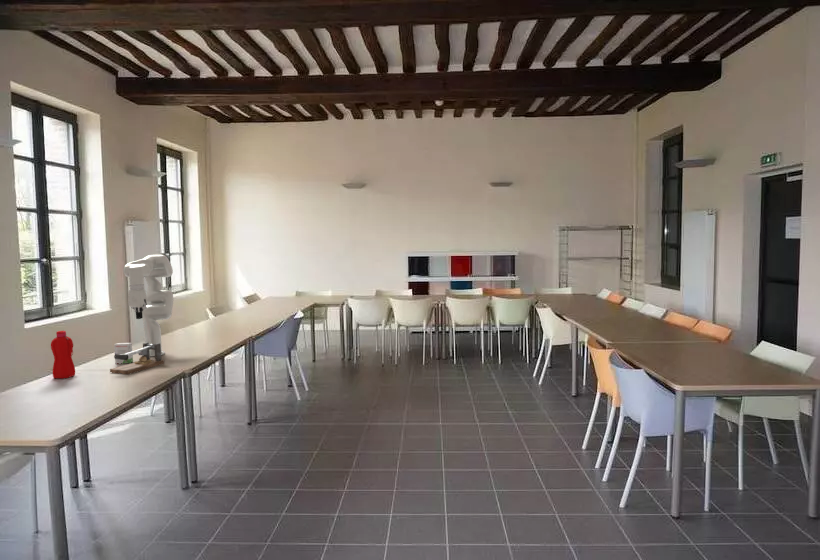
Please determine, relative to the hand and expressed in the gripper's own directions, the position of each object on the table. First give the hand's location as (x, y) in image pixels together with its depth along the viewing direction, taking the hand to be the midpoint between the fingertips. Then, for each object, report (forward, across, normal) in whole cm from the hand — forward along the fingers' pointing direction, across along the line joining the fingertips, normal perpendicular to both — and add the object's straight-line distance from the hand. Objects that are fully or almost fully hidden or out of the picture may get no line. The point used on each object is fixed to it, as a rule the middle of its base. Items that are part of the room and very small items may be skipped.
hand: (139, 318), depth 327 cm
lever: (+20, +5, -8) cm, 22 cm away
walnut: (+23, +5, -5) cm, 24 cm away
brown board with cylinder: (+27, +6, -9) cm, 29 cm away
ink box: (+28, -13, -1) cm, 31 cm away
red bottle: (+26, -17, -36) cm, 48 cm away
